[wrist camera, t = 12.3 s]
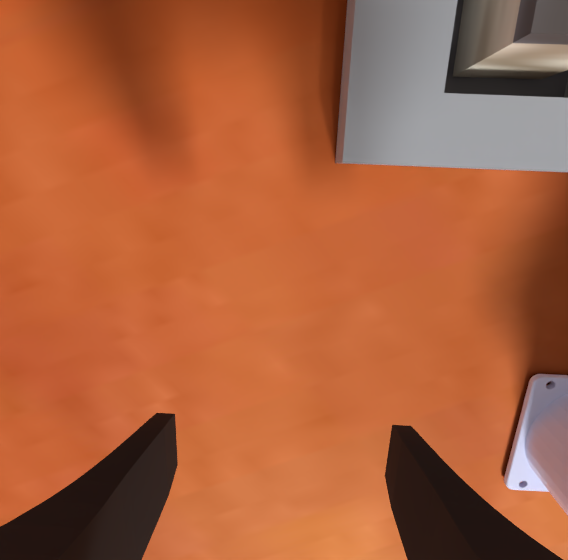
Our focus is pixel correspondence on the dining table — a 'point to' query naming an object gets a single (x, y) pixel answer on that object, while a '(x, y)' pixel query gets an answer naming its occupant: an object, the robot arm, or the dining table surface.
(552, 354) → the dining table surface
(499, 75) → the peg
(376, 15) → the socket board
